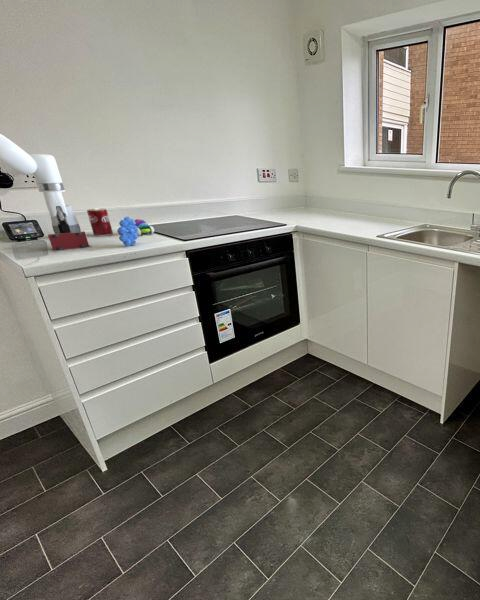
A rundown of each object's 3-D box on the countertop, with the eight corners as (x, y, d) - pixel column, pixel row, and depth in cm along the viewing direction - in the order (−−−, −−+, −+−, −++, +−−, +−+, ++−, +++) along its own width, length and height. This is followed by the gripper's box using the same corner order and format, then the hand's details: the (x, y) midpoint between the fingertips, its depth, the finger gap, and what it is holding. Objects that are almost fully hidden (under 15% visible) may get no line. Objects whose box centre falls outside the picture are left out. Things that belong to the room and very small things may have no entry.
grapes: (129, 242, 155) (122, 214, 151) (145, 242, 156) (139, 215, 151) (112, 248, 144) (104, 218, 140) (130, 248, 145) (122, 219, 141)
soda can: (112, 233, 172) (106, 208, 168) (113, 235, 167) (106, 209, 163) (93, 234, 168) (86, 208, 163) (94, 237, 163) (86, 210, 158)
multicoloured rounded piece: (147, 231, 178) (143, 217, 175) (157, 234, 173) (154, 219, 170) (128, 234, 171) (124, 219, 168) (138, 236, 166) (134, 221, 164)
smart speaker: (55, 236, 162) (45, 204, 157) (81, 233, 168) (72, 204, 163) (55, 239, 155) (45, 207, 150) (83, 237, 161) (73, 206, 156)
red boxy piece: (53, 250, 138) (48, 235, 135) (52, 248, 141) (47, 233, 139) (89, 246, 145) (85, 232, 143) (87, 245, 148) (83, 230, 146)
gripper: (36, 186, 140) (51, 232, 147) (39, 189, 131) (55, 237, 138) (61, 186, 146) (75, 230, 152) (66, 188, 136) (80, 235, 143)
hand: (65, 233), depth 145 cm, fingers closed
